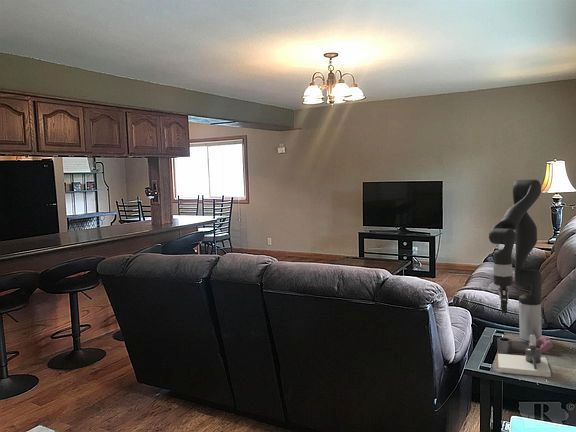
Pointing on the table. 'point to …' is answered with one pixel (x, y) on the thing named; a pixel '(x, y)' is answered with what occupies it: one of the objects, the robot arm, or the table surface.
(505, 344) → the grey rectangular block
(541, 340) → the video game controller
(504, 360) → the board
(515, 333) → the table surface
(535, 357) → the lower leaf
